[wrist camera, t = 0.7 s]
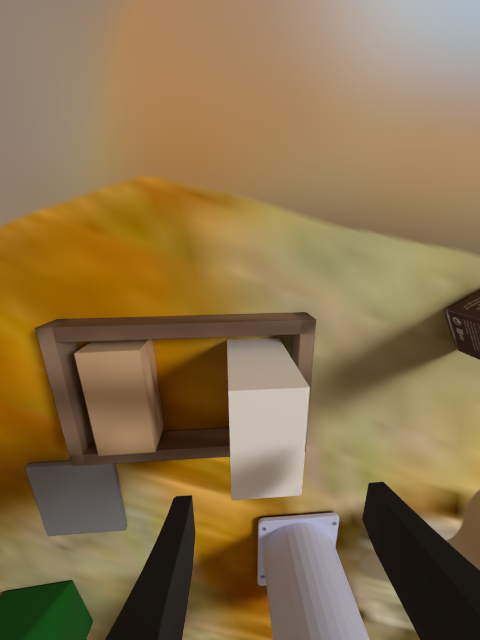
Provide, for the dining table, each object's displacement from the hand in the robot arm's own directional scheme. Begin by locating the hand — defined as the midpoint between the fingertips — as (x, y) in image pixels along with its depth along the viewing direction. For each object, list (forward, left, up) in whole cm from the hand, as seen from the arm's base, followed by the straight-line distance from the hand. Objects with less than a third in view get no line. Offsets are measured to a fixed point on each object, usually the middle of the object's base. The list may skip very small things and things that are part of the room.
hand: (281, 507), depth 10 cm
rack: (0, +4, -10) cm, 11 cm away
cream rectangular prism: (0, 0, -10) cm, 10 cm away
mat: (-11, +15, -10) cm, 21 cm away
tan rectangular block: (0, +9, -10) cm, 14 cm away
